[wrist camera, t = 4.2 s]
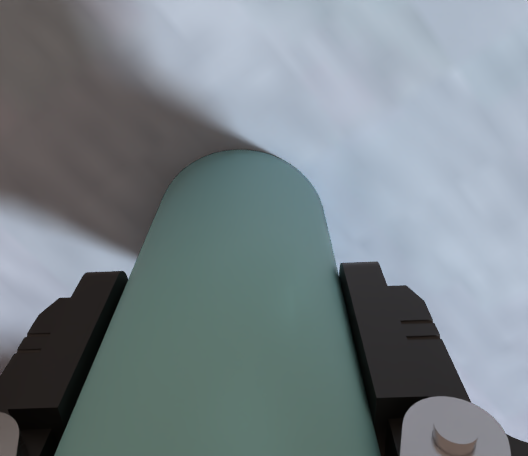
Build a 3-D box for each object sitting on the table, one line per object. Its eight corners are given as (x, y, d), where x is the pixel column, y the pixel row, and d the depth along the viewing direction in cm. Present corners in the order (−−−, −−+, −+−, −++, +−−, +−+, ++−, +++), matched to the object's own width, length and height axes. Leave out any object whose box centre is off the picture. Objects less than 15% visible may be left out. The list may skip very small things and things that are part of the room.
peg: (326, 145, 12) (482, 622, 4) (324, 294, 14) (418, 828, 6) (146, 153, 12) (-145, 636, 4) (170, 299, 14) (23, 833, 6)
